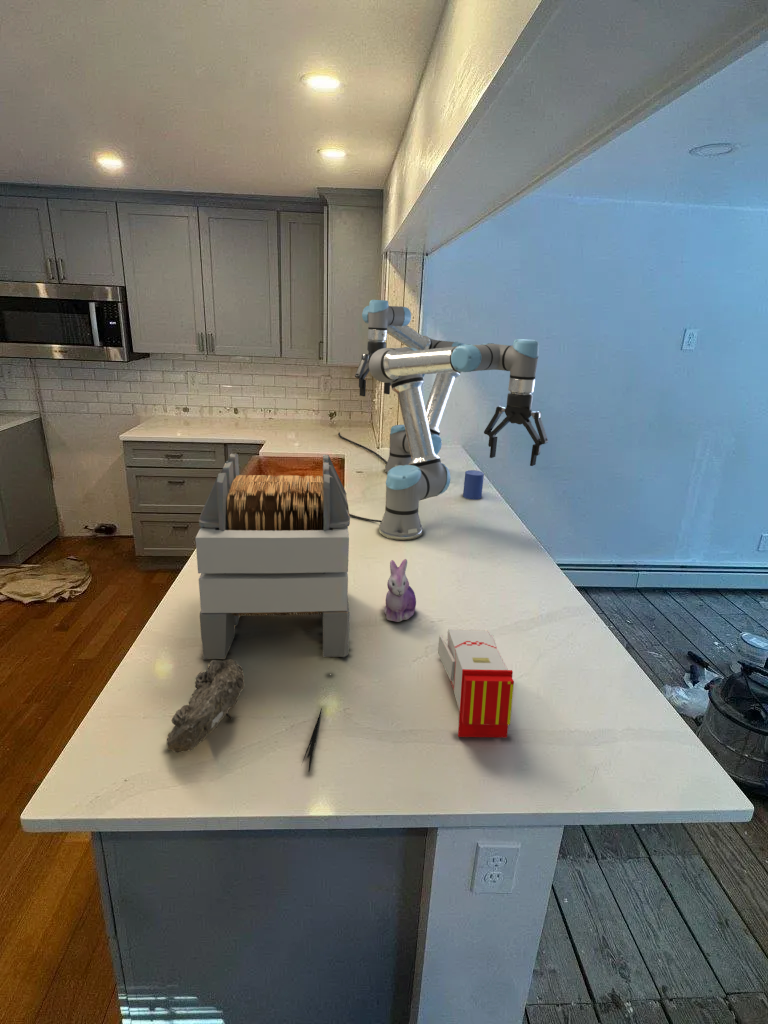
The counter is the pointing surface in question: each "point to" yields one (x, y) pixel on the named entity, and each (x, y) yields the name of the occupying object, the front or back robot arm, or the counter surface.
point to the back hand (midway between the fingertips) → (374, 395)
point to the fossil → (206, 705)
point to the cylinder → (473, 484)
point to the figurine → (399, 594)
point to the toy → (478, 682)
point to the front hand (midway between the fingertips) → (512, 461)
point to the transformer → (273, 554)
